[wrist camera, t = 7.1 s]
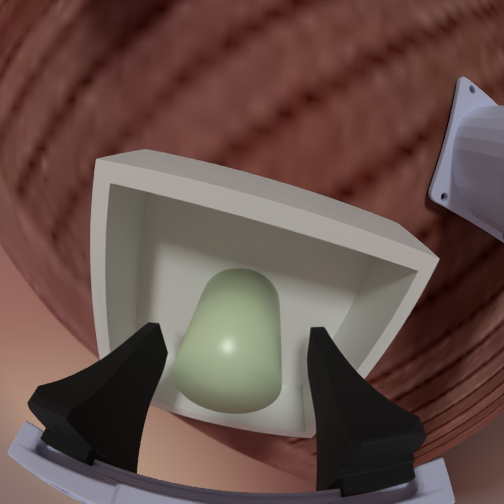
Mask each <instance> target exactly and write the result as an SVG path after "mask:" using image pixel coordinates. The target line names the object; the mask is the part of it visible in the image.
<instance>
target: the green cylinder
mask: <svg viewBox="0 0 504 504" xmlns="http://www.w3.org/2000/svg"><path fill="white" fill-rule="evenodd" d="M172 378H173V381H174V383H175V385H176V387H177V388H178V390H179V391H180V392H181V393H182V394H183V395H184V396H185V397H186V398H187V399H189V400H190V401H192V402H193V403H195V404H197V405H199V406H201V407H203V408H206V409H209V410H212V411H216V412H220V413H227V414H245V413H251V412H255V411H259V410H261V409H264V408H266V407H268V406H269V405H271V404H272V403H273V402H274V401H275V400H276V399H277V398H278V396H279V395H280V393H281V389H282V362H281V324H280V299H279V295H278V292H277V289H276V288H275V286H274V285H273V283H272V282H271V281H270V280H269V279H268V278H266V277H265V276H264V275H262V274H260V273H258V272H256V271H253V270H250V269H244V268H232V269H227V270H224V271H221V272H219V273H217V274H216V275H214V276H213V277H212V278H211V279H210V280H209V281H208V282H207V284H206V286H205V287H204V290H203V292H202V295H201V297H200V299H199V302H198V304H197V307H196V309H195V312H194V314H193V316H192V319H191V321H190V324H189V326H188V329H187V331H186V334H185V336H184V339H183V341H182V344H181V346H180V349H179V351H178V354H177V356H176V359H175V361H174V364H173V367H172Z"/></svg>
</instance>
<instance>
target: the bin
mask: <svg viewBox="0 0 504 504" xmlns="http://www.w3.org/2000/svg"><path fill="white" fill-rule="evenodd" d="M90 258H91V285H92V299H93V311H94V320H95V329H96V337H97V344H98V350H99V356H100V360H101V359H102V358H104V357H105V356H107V355H108V354H109V353H111V352H112V351H113V350H115V349H116V348H117V347H119V346H120V345H121V344H122V343H124V342H125V341H126V340H127V339H128V338H130V337H131V336H132V335H133V334H134V333H136V332H137V331H138V330H139V329H140V328H142V327H143V326H144V325H145V324H147V323H148V322H153V323H160V327H161V331H162V334H163V337H164V341H165V344H166V348H167V351H168V356H167V360H166V364H165V367H164V371H163V373H162V376H161V378H160V381H159V383H158V386H157V388H156V390H155V393H154V395H153V398H152V400H151V403H150V405H151V406H154V407H157V408H160V409H163V410H166V411H170V412H173V413H176V414H180V415H183V416H186V417H190V418H194V419H198V420H201V421H205V422H210V423H214V424H218V425H223V426H227V427H232V428H237V429H243V430H248V431H254V432H261V433H267V434H275V435H283V436H292V437H303V438H312V437H313V436H314V435H315V434H316V421H315V413H314V408H313V402H312V396H311V391H310V385H309V380H308V370H307V352H308V345H309V337H310V328H311V327H324V328H326V330H327V332H328V333H329V335H330V337H331V338H332V340H333V341H334V343H335V344H336V346H337V347H338V349H339V350H340V351H341V353H342V354H343V355H344V357H345V358H346V359H347V360H348V362H349V363H350V364H351V365H352V366H353V368H354V369H355V370H356V371H357V372H358V373H359V374H360V375H361V376H362V377H363V378H364V379H365V377H366V376H367V375H368V374H369V372H370V371H371V370H372V368H373V367H374V366H375V364H376V363H377V362H378V360H379V359H380V358H381V356H382V355H383V353H384V352H385V351H386V349H387V348H388V346H389V345H390V344H391V342H392V341H393V339H394V338H395V336H396V335H397V333H398V332H399V330H400V329H401V327H402V325H403V324H404V322H405V321H406V319H407V317H408V316H409V314H410V313H411V311H412V309H413V308H414V306H415V304H416V303H417V301H418V299H419V297H420V296H421V294H422V292H423V290H424V288H425V287H426V285H427V283H428V281H429V279H430V277H431V275H432V273H433V271H434V269H435V267H436V265H437V263H438V261H439V258H438V257H437V256H436V255H435V254H434V253H433V252H432V251H431V250H429V249H428V248H427V247H426V246H425V245H424V244H422V243H421V242H420V241H419V240H418V239H417V238H415V237H414V236H413V235H412V234H411V233H409V232H408V231H407V230H406V229H405V228H403V227H402V226H401V225H400V224H398V223H396V222H394V221H391V220H389V219H386V218H384V217H381V216H379V215H376V214H373V213H371V212H368V211H365V210H363V209H360V208H357V207H355V206H352V205H349V204H346V203H343V202H341V201H338V200H335V199H332V198H329V197H326V196H323V195H320V194H317V193H314V192H311V191H308V190H305V189H302V188H298V187H295V186H292V185H289V184H285V183H282V182H279V181H275V180H272V179H268V178H265V177H261V176H258V175H254V174H251V173H247V172H243V171H240V170H236V169H232V168H228V167H224V166H220V165H216V164H212V163H208V162H204V161H199V160H195V159H191V158H186V157H182V156H177V155H172V154H168V153H163V152H158V151H153V150H147V149H144V150H138V151H133V152H127V153H122V154H117V155H112V156H107V157H103V158H98V159H96V164H95V173H94V182H93V194H92V208H91V236H90ZM232 268H244V269H250V270H253V271H256V272H258V273H260V274H262V275H264V276H265V277H266V278H268V279H269V280H270V281H271V282H272V283H273V285H274V286H275V288H276V289H277V292H278V295H279V299H280V324H281V362H282V389H281V393H280V395H279V396H278V398H277V399H276V400H275V401H274V402H273V403H272V404H271V405H269V406H268V407H266V408H264V409H261V410H259V411H255V412H251V413H245V414H227V413H220V412H216V411H212V410H209V409H206V408H203V407H201V406H199V405H197V404H195V403H193V402H192V401H190V400H189V399H187V398H186V397H185V396H184V395H183V394H182V393H181V392H180V391H179V390H178V388H177V387H176V385H175V383H174V381H173V378H172V367H173V364H174V361H175V359H176V356H177V354H178V351H179V349H180V346H181V344H182V341H183V339H184V336H185V334H186V331H187V329H188V326H189V324H190V321H191V319H192V316H193V314H194V312H195V309H196V307H197V304H198V302H199V299H200V297H201V295H202V292H203V290H204V287H205V286H206V284H207V282H208V281H209V280H210V279H211V278H212V277H213V276H214V275H216V274H217V273H219V272H221V271H224V270H227V269H232Z"/></svg>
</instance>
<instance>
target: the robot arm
mask: <svg viewBox="0 0 504 504" xmlns="http://www.w3.org/2000/svg"><path fill="white" fill-rule="evenodd" d="M469 87H470V89H471V92H470V90H469ZM442 193H444V198H443V199H442V200H441V195H442ZM428 194H429V198H430V199H431V200H432V201H434V202H436V203H438V204H440V205H442V206H443V207H445V208H447V209H449V210H451V211H453V212H454V213H456V214H458V215H460V216H461V217H463V218H465V219H467V220H468V221H470V222H472V223H473V224H475V225H477V226H478V227H480V228H481V229H483V230H485V231H486V232H488V233H489V234H491V235H492V236H494V237H496V238H497V239H499V240H500V241H502V242H503V243H504V106H498V105H497V104H496V103H495V102H494V101H493V100H492V99H491V98H490V97H489V96H487V95H486V94H485V93H484V92H483V91H482V90H481V89H479V88H478V87H477V86H476V85H475V84H473V83H472V82H471V81H470V80H468V79H467V78H465V77H460V78H458V80H457V85H456V91H455V96H454V101H453V106H452V111H451V115H450V120H449V124H448V128H447V132H446V136H445V140H444V143H443V147H442V150H441V154H440V157H439V160H438V164H437V167H436V170H435V173H434V176H433V179H432V182H431V185H430V188H429V192H428ZM167 356H168V351H167V348H166V344H165V341H164V337H163V334H162V331H161V327H160V323H153V322H148V323H147V324H145V325H144V326H143V327H142V328H140V329H139V330H138V331H137V332H136V333H134V334H133V335H132V336H131V337H130V338H128V339H127V340H126V341H125V342H124V343H122V344H121V345H120V346H119V347H117V348H116V349H115V350H113V351H112V352H111V353H109V354H108V355H107V356H105V357H104V358H102V359H101V360H99V361H98V362H96V363H95V364H93V365H91V366H89V367H88V368H86V369H84V370H82V371H80V372H78V373H76V374H74V375H72V376H69V377H66V378H64V379H61V380H58V381H55V382H52V383H48V384H45V385H41V386H38V387H37V389H36V390H35V392H34V393H33V395H32V397H31V398H30V399H29V401H28V406H29V409H30V410H31V411H32V413H33V414H34V415H35V416H36V417H37V418H38V420H39V421H40V422H41V423H42V424H43V425H44V426H45V427H46V429H45V431H44V432H43V431H42V430H41V429H40V428H38V427H36V426H35V425H33V424H31V423H29V422H28V421H25V422H24V424H23V426H22V427H21V429H20V431H19V432H18V434H17V436H16V438H15V439H14V441H13V443H12V445H11V447H10V449H9V451H8V454H9V455H10V456H11V457H12V458H13V459H15V460H16V461H17V462H18V463H20V464H21V465H22V466H23V467H25V468H26V469H27V470H29V471H30V472H31V473H33V474H34V475H36V476H37V477H39V478H40V479H41V480H43V481H45V482H46V483H48V484H50V485H51V486H53V487H54V488H56V489H58V490H60V491H61V492H63V493H65V494H67V495H68V496H70V497H72V498H74V499H76V500H78V501H80V502H81V503H84V504H453V503H454V502H455V499H454V495H453V491H452V487H451V484H450V480H449V476H448V473H447V470H446V466H445V463H444V460H443V458H438V459H436V460H433V461H430V462H428V463H424V464H422V465H419V466H417V467H415V468H414V469H413V465H412V463H413V462H414V460H415V459H414V455H413V453H414V452H415V451H416V450H417V449H418V448H419V447H420V446H421V445H422V444H423V442H424V441H425V439H426V433H425V430H424V427H423V425H422V423H421V421H420V419H419V417H418V416H416V415H414V414H412V413H410V412H408V411H406V410H404V409H403V408H401V407H399V406H398V405H396V404H394V403H393V402H391V401H390V400H388V399H387V398H386V397H385V396H383V395H382V394H381V393H379V392H378V391H377V390H375V389H374V388H373V387H372V386H371V385H370V384H369V383H368V382H367V381H366V380H365V379H364V378H363V377H362V376H361V375H360V374H359V373H358V372H357V371H356V370H355V369H354V368H353V366H352V365H351V364H350V363H349V362H348V360H347V359H346V358H345V357H344V355H343V354H342V353H341V351H340V350H339V349H338V347H337V346H336V344H335V343H334V341H333V340H332V338H331V337H330V335H329V333H328V332H327V330H326V328H324V327H311V328H310V337H309V345H308V352H307V370H308V380H309V385H310V391H311V396H312V402H313V408H314V413H315V421H316V441H317V484H316V491H314V492H300V493H246V492H231V491H221V490H213V489H205V488H198V487H192V486H186V485H181V484H176V483H171V482H167V481H162V480H158V479H154V478H150V477H147V476H143V475H139V474H137V465H138V455H139V448H140V442H141V437H142V432H143V427H144V423H145V419H146V415H147V411H148V408H149V405H150V403H151V400H152V398H153V395H154V393H155V390H156V388H157V386H158V383H159V381H160V378H161V376H162V373H163V371H164V367H165V364H166V360H167Z"/></svg>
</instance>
